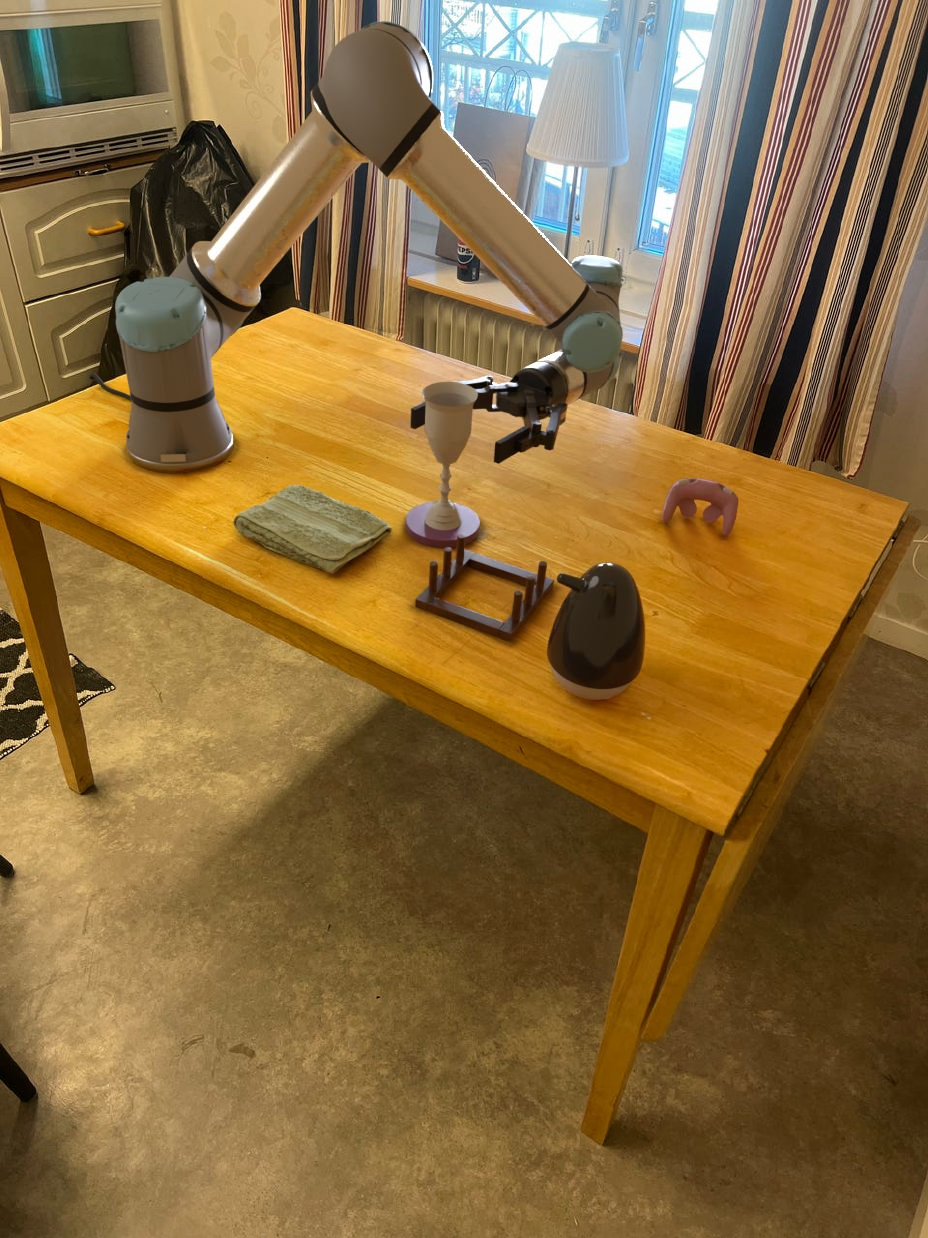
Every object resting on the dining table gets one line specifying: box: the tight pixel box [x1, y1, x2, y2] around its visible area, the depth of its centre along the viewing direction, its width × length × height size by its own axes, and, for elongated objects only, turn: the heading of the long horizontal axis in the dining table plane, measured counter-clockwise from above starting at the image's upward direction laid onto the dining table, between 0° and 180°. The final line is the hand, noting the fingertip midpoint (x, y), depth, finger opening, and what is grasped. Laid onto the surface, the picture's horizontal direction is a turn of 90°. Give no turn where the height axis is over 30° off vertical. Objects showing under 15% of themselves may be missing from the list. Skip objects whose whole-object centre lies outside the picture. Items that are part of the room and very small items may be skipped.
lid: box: [405, 500, 481, 549], centre depth 120 cm, size 10×10×1 cm
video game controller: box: [662, 477, 739, 537], centre depth 124 cm, size 10×5×7 cm, turn 71°
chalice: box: [421, 381, 478, 530], centre depth 114 cm, size 7×7×18 cm
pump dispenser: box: [546, 562, 646, 701], centre depth 92 cm, size 10×10×15 cm
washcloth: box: [232, 484, 393, 575], centre depth 115 cm, size 13×18×3 cm
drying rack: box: [414, 534, 555, 643], centre depth 107 cm, size 13×13×5 cm
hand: (453, 435), depth 113 cm, fingers open, 13 cm apart
